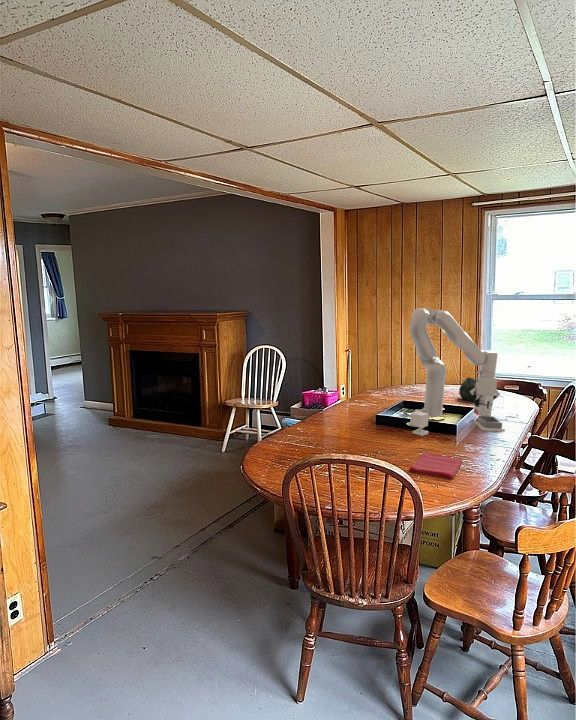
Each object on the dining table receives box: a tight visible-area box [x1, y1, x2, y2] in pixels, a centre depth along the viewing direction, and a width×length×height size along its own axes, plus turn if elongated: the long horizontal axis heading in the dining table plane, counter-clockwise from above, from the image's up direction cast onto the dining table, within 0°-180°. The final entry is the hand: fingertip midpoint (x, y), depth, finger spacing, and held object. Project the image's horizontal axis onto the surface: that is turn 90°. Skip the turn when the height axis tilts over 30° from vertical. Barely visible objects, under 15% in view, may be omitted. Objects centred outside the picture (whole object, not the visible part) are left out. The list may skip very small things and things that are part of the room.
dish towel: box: [408, 451, 463, 481], centre depth 215 cm, size 17×24×3 cm
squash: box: [458, 376, 477, 402], centre depth 334 cm, size 14×15×15 cm
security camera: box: [409, 411, 429, 437], centre depth 260 cm, size 6×7×10 cm
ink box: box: [473, 393, 494, 416], centre depth 286 cm, size 8×5×12 cm, turn 17°
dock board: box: [474, 415, 506, 432], centre depth 275 cm, size 11×13×4 cm
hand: (483, 406), depth 286 cm, fingers closed on ink box, 6 cm apart
